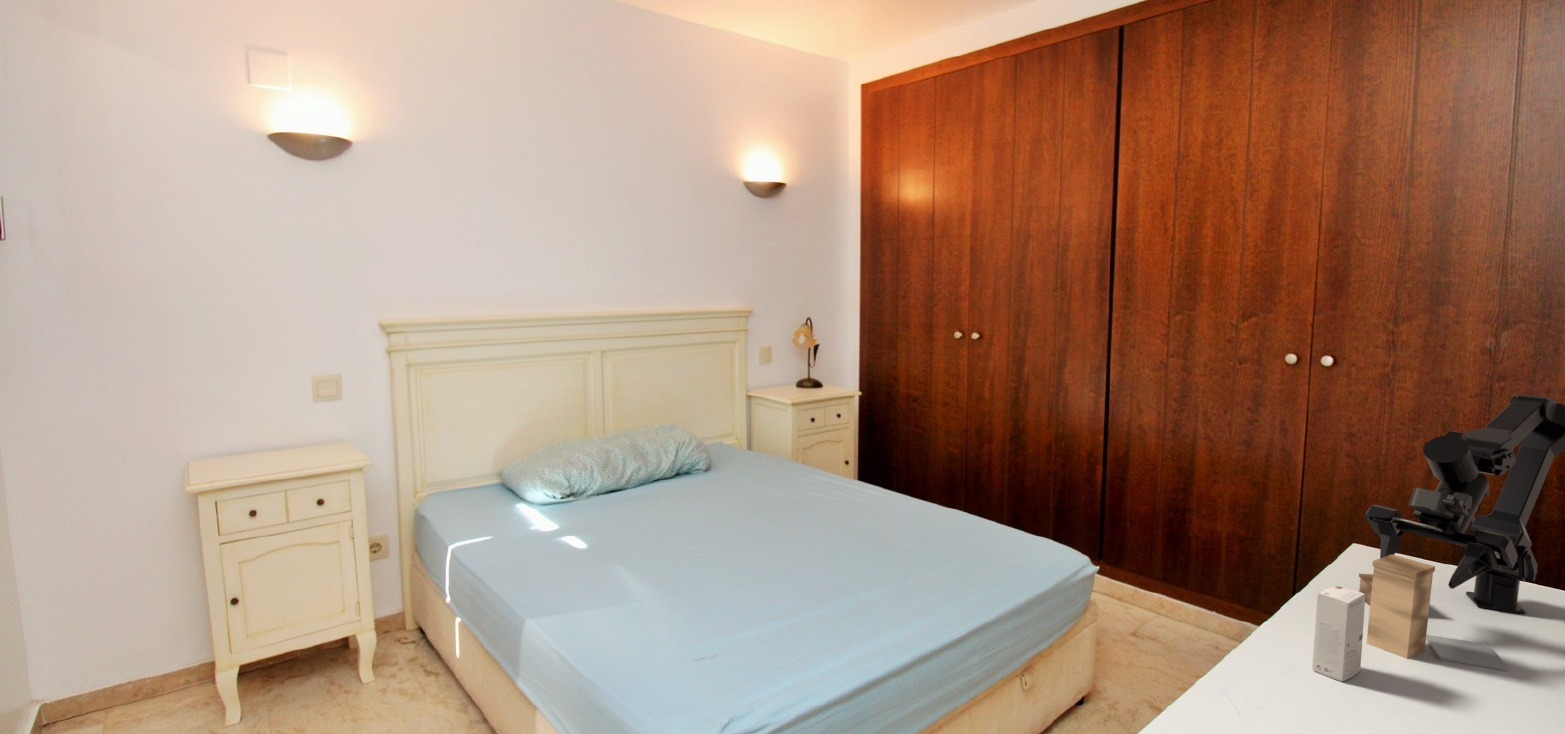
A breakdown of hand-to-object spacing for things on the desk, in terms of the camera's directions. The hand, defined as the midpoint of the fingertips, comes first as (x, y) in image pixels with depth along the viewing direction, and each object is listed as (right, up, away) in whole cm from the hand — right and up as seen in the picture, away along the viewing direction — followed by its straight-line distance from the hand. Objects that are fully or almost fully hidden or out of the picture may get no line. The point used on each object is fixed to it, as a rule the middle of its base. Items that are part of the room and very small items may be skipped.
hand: (1415, 576), depth 123 cm
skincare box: (-18, -12, -8) cm, 23 cm away
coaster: (+5, -11, -3) cm, 13 cm away
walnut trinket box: (+7, -9, +15) cm, 19 cm away
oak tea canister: (-4, -11, 0) cm, 12 cm away
